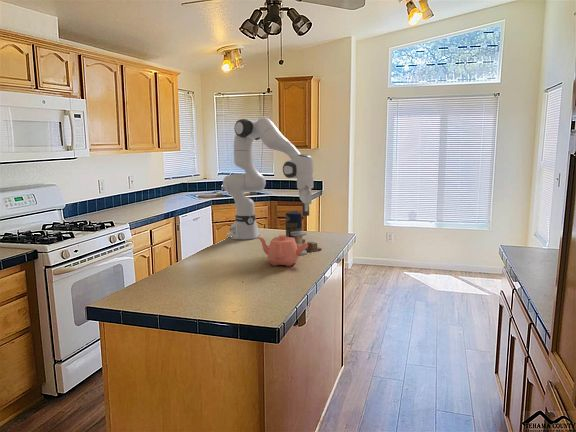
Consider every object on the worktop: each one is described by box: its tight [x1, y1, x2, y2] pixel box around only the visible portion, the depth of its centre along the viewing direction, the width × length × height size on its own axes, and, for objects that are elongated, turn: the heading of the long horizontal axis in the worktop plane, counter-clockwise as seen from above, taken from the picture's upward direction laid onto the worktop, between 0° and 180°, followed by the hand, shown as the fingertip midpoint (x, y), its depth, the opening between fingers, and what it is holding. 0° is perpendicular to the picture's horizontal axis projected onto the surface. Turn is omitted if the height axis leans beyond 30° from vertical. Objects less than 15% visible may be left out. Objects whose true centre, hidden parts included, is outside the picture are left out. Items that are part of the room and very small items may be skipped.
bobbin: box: [290, 230, 308, 256], centre depth 235 cm, size 8×8×11 cm
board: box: [302, 238, 323, 253], centre depth 247 cm, size 18×7×4 cm, turn 34°
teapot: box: [256, 234, 308, 267], centre depth 217 cm, size 18×18×14 cm
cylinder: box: [301, 201, 310, 217], centre depth 244 cm, size 4×4×8 cm
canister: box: [284, 210, 303, 239], centre depth 264 cm, size 10×10×18 cm
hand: (305, 210), depth 244 cm, fingers closed on cylinder, 4 cm apart
